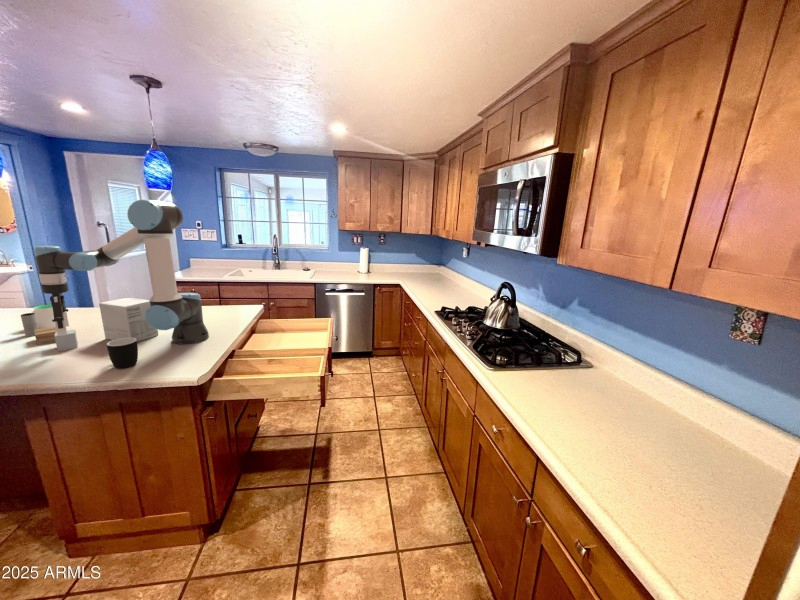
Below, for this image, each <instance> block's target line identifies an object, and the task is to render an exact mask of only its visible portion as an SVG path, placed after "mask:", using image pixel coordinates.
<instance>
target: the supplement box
mask: <svg viewBox="0 0 800 600" xmlns="http://www.w3.org/2000/svg"><path fill="white" fill-rule="evenodd" d="M98 305H99V311H100V315H101V323H102V328H103V332H104V337H105V339H106V340H110V341H113V340H116V339H121V338H135V339H137V343H138V342H140V341H145V340H148V339H151V338H154V337H158V336H159V330H158V329H156V328H154V327H153V326H151V325H150V324H149V323H148V322H147V320H146V317H145V313H146V311H147V310H148V308H149V307H150V301H149V299H144V298H143V299H142V298H133V297H124V298H119V299H118V298H117V299H113V300H108V301H102V302H99V303H98Z"/></svg>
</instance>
